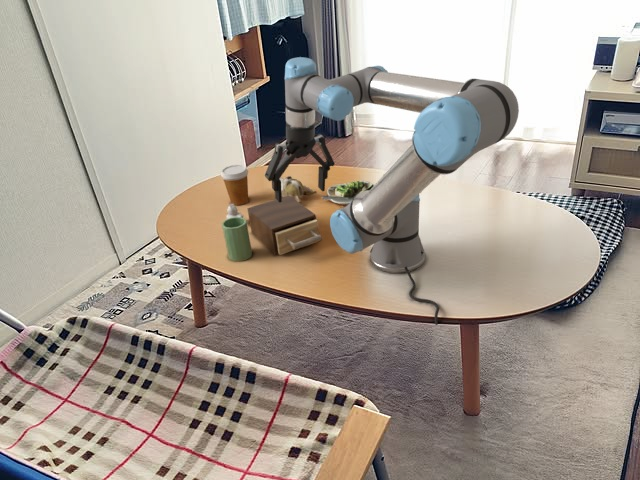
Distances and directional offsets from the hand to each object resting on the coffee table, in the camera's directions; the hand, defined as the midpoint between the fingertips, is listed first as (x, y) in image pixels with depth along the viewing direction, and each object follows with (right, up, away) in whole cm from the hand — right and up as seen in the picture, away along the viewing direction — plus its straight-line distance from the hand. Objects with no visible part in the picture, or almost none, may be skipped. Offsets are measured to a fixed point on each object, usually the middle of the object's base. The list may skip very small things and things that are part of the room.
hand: (300, 194), depth 160 cm
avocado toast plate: (+18, +8, +37) cm, 42 cm away
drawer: (-3, -12, +13) cm, 17 cm away
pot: (-19, -16, +11) cm, 27 cm away
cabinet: (-6, -9, +18) cm, 21 cm away
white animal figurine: (-22, -4, +28) cm, 36 cm away
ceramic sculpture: (-4, +7, +40) cm, 40 cm away
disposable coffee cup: (-23, +7, +42) cm, 48 cm away
